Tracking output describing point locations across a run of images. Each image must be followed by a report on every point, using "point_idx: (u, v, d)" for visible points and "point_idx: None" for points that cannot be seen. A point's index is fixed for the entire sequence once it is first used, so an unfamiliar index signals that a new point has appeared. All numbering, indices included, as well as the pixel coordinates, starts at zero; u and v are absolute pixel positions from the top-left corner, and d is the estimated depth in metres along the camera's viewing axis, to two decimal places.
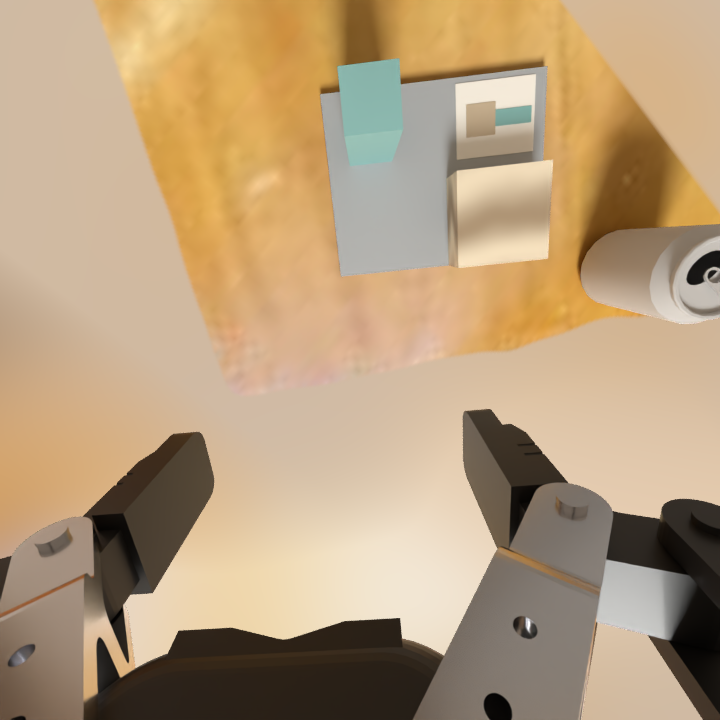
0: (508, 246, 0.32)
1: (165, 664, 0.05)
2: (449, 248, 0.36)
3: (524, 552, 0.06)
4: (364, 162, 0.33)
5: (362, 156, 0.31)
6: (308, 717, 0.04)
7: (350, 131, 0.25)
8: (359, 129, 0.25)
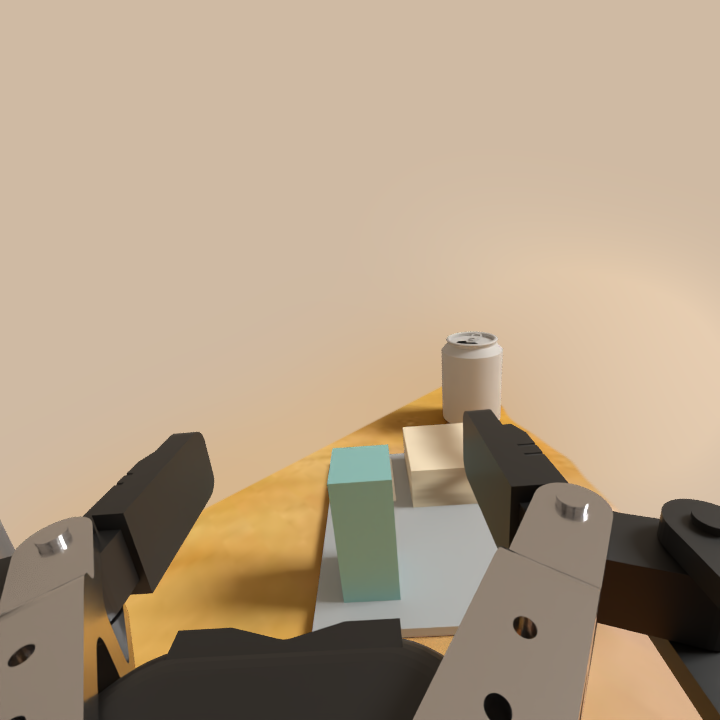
0: None
1: (165, 664, 0.05)
2: None
3: (524, 552, 0.06)
4: None
5: None
6: (308, 717, 0.04)
7: (387, 475, 0.23)
8: (386, 469, 0.23)
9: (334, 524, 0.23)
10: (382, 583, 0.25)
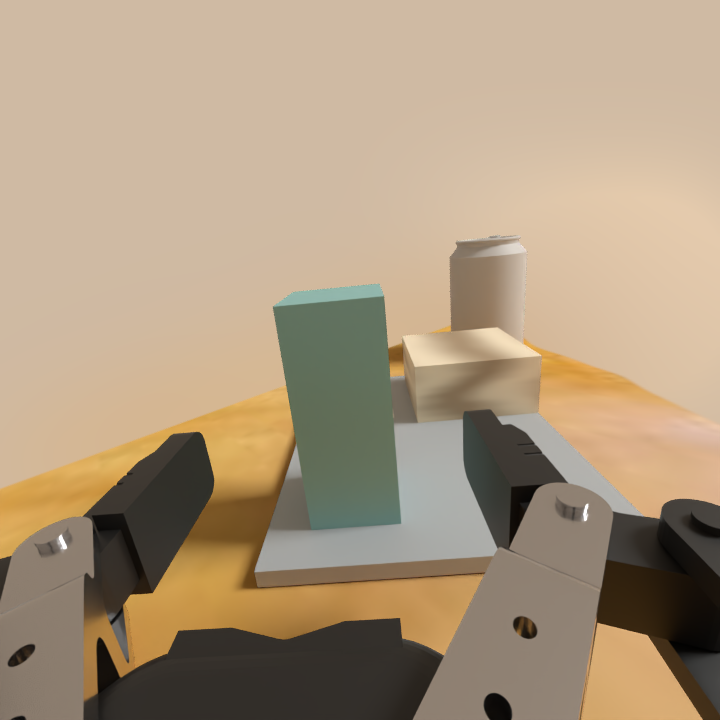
0: (495, 339, 0.27)
1: (165, 664, 0.05)
2: (513, 406, 0.24)
3: (524, 552, 0.06)
4: None
5: None
6: (308, 717, 0.04)
7: (376, 295, 0.13)
8: (374, 293, 0.14)
9: (289, 386, 0.14)
10: (372, 495, 0.16)
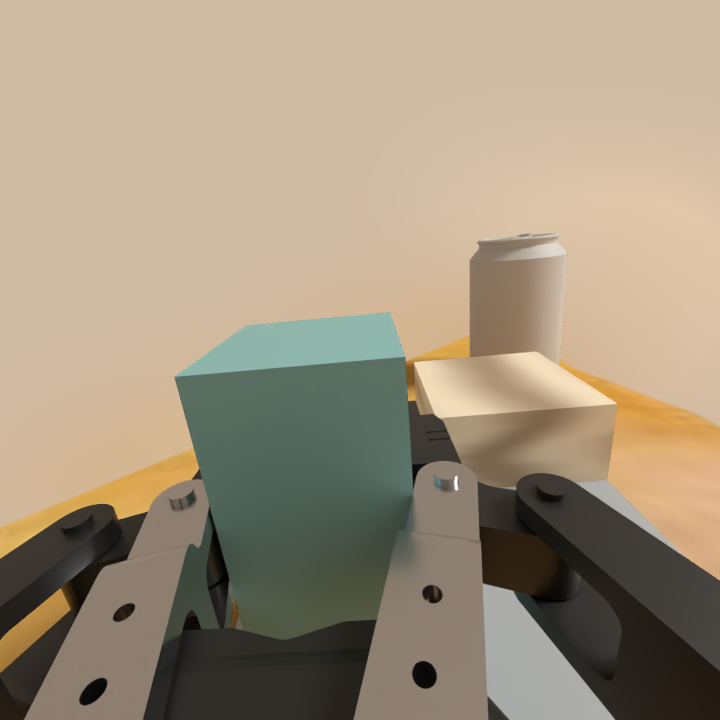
0: (539, 372, 0.20)
1: None
2: (573, 471, 0.17)
3: (418, 530, 0.06)
4: None
5: None
6: (308, 717, 0.04)
7: (388, 350, 0.07)
8: (384, 342, 0.07)
9: (218, 521, 0.07)
10: None
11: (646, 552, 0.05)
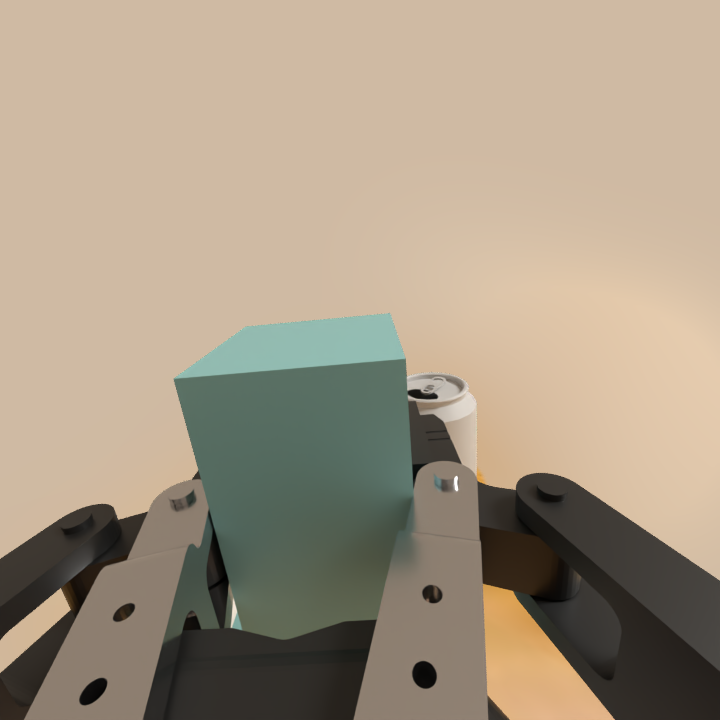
0: None
1: None
2: None
3: (418, 529, 0.06)
4: None
5: None
6: (308, 717, 0.04)
7: (389, 352, 0.07)
8: (384, 343, 0.07)
9: (218, 524, 0.07)
10: None
11: (646, 552, 0.05)
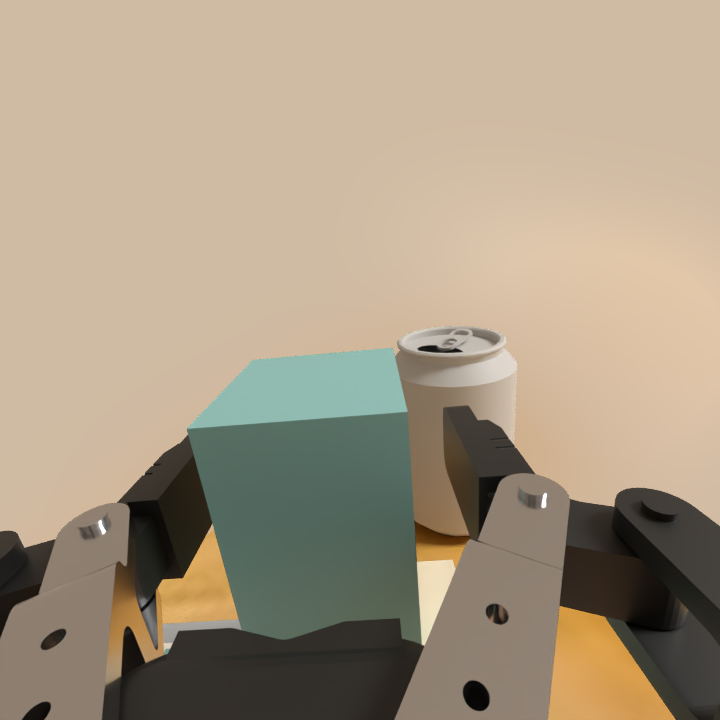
0: None
1: (165, 664, 0.05)
2: None
3: (492, 542, 0.06)
4: None
5: None
6: (308, 717, 0.04)
7: (391, 402, 0.07)
8: (387, 390, 0.07)
9: (227, 561, 0.08)
10: None
11: None
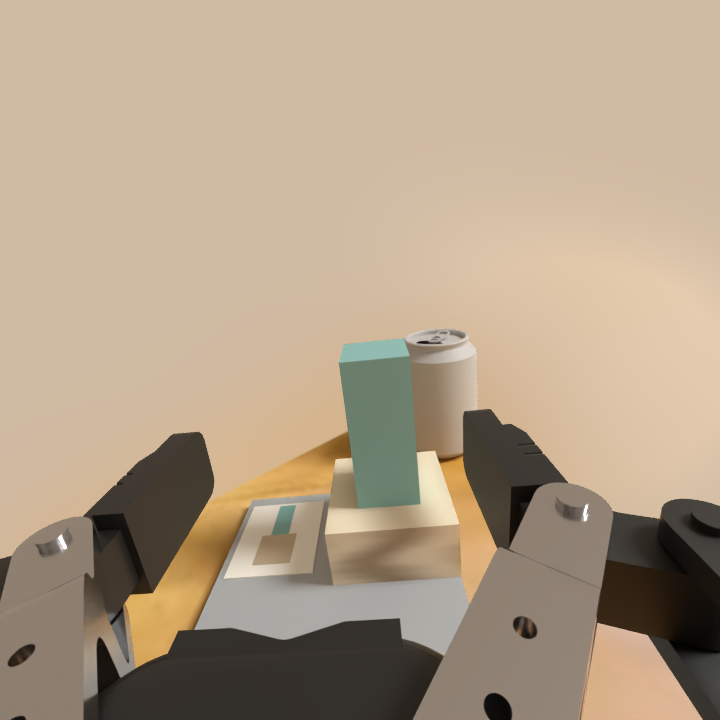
0: (424, 479, 0.26)
1: (165, 664, 0.05)
2: (434, 571, 0.22)
3: (524, 552, 0.06)
4: None
5: None
6: (308, 717, 0.04)
7: (404, 354, 0.21)
8: (402, 351, 0.21)
9: (347, 412, 0.21)
10: (400, 484, 0.23)
11: None
